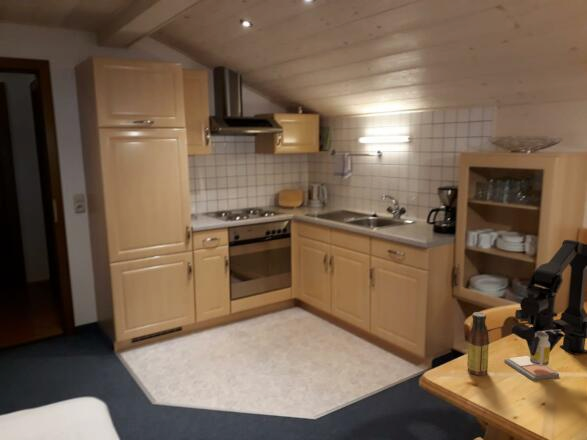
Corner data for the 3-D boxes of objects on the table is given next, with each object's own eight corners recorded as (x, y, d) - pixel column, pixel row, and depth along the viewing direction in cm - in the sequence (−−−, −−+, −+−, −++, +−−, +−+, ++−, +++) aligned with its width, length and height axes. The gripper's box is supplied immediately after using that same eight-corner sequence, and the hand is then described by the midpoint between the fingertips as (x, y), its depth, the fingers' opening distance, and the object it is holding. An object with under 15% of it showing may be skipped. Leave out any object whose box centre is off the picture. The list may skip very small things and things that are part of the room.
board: (528, 358, 162) (529, 354, 162) (559, 376, 149) (559, 372, 149) (504, 361, 159) (504, 358, 159) (532, 380, 147) (533, 376, 147)
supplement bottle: (546, 360, 153) (549, 332, 151) (549, 368, 148) (552, 338, 146) (528, 358, 154) (531, 329, 153) (530, 365, 149) (533, 336, 148)
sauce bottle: (484, 367, 155) (488, 310, 152) (489, 377, 149) (494, 318, 146) (463, 366, 156) (467, 310, 152) (468, 376, 150) (472, 317, 146)
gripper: (548, 297, 158) (544, 340, 160) (501, 302, 153) (498, 346, 156) (576, 308, 147) (571, 354, 150) (526, 314, 142) (522, 362, 145)
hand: (539, 354), depth 150 cm, fingers closed on supplement bottle, 5 cm apart
